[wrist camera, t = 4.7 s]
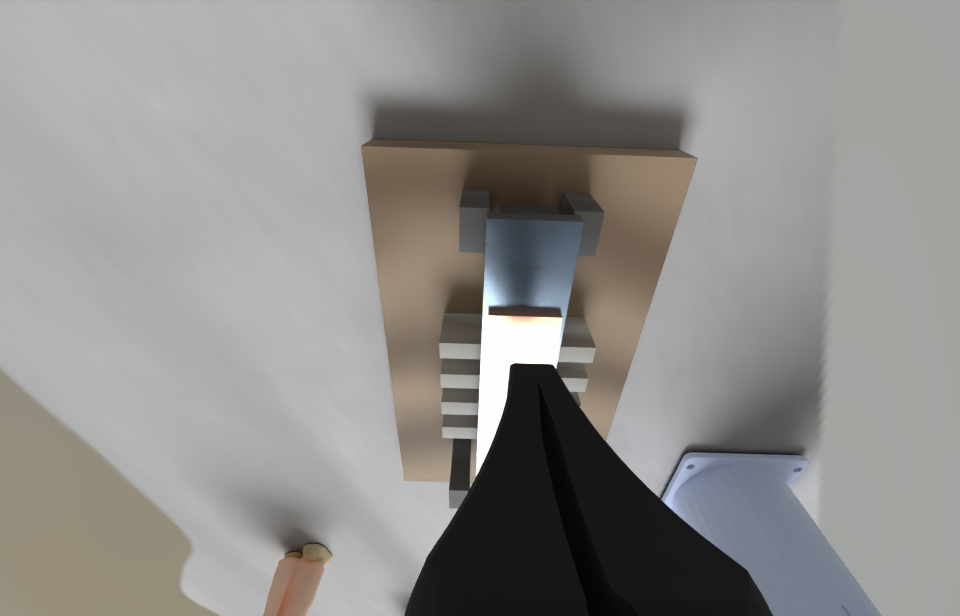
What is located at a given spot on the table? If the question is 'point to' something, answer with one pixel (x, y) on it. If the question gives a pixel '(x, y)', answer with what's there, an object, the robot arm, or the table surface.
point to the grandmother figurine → (296, 581)
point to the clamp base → (460, 275)
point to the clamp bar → (522, 300)
